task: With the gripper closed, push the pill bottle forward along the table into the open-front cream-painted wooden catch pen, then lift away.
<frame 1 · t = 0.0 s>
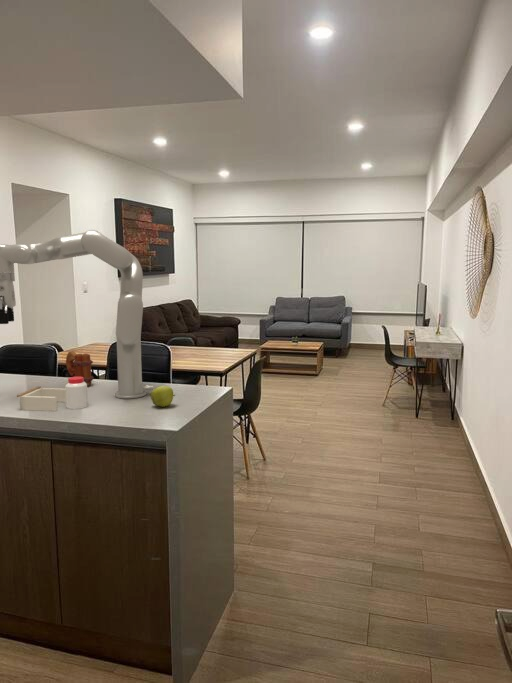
hand: (6, 322, 194), 31 cm above the countertop, fingers open, 9 cm apart
catch pen: (49, 405, 193), on the countertop
apple: (163, 407, 192), on the countertop
mug: (79, 385, 228), on the countertop
pill bottle: (77, 406, 192), on the countertop
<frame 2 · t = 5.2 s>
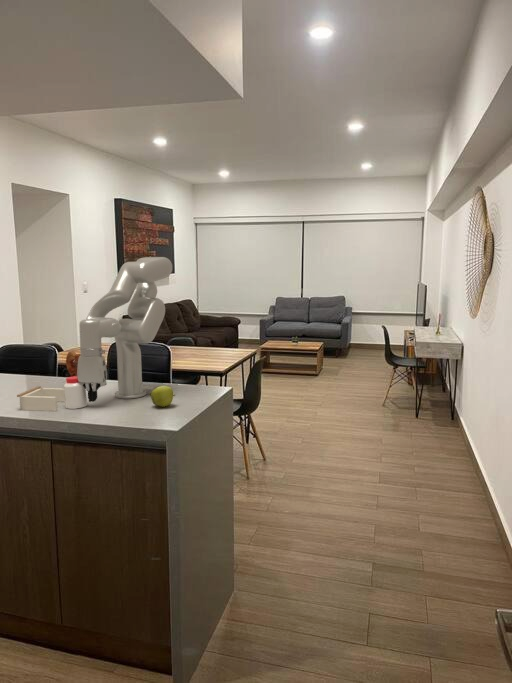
hand: (92, 400, 191), 2 cm above the countertop, fingers closed
pill bottle: (76, 406, 192), on the countertop, touching gripper
everything else where it was.
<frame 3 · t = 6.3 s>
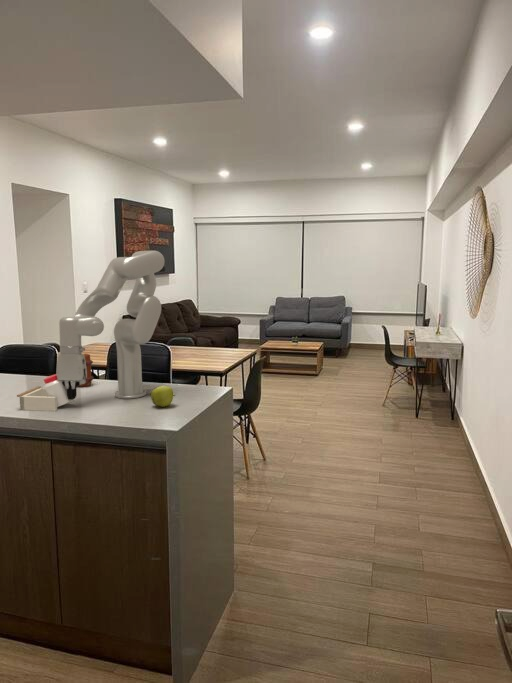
hand: (71, 398, 191), 3 cm above the countertop, fingers closed
pill bottle: (62, 403, 192), point 1 cm above the countertop, touching gripper
everything else where it was.
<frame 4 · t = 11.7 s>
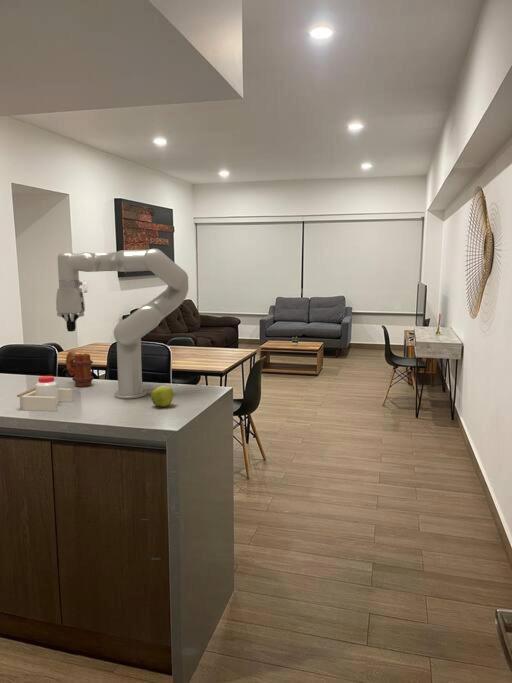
hand: (71, 331, 202), 27 cm above the countertop, fingers closed
pill bottle: (47, 406, 193), on the countertop
everything else where it was.
at the end: pill bottle 0.8 cm from the catch pen (horizontally); pill bottle tilted 1°; the gripper is holding nothing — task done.
